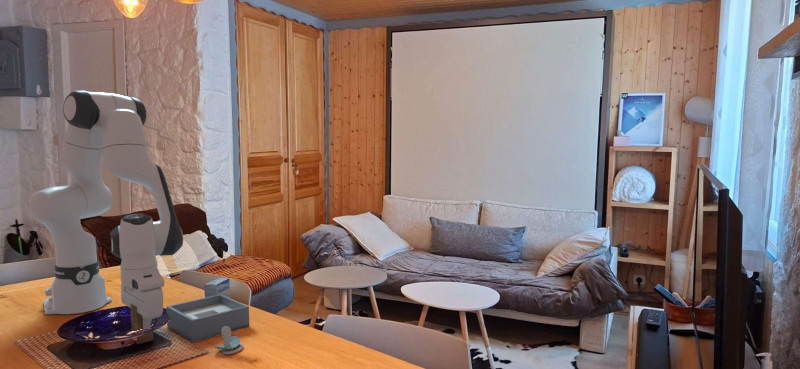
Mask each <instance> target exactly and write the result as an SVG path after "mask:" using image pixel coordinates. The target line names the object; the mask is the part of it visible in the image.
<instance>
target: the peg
mask: <svg viewBox="0 0 800 369" xmlns="http://www.w3.org/2000/svg"><path fill="white" fill-rule="evenodd" d="M130 307H131V308H130V324H131V325H130V326H131V332H132V331H137V330H140V329H142V323H143V318H142V315H140V314H139V313H137V307H136V306H134V305H133V304H130ZM151 326H154V324H153V320H152V321H151ZM151 341H154V330H153V331H151V332H149V333H147V334H145V335H143V336H140V337H139V338H137V340H136V344H137V345H139V344H144V343H147V342H151Z"/></svg>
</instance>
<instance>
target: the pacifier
mask: <svg viewBox="0 0 800 369" xmlns="http://www.w3.org/2000/svg"><path fill="white" fill-rule="evenodd" d="M231 335H232V332H231V329H230V328H229V327H228V326H224V327H223V328H222V330H221V335H220V336H222V338H223V344H222V345H214V346H213V348H215V349H218V350H221V354H223V355H233V354H236V353H238V352H240V351H241V350H243V349H244V344H242V343H241V338H240V337H239V336H236V335H233V336H231ZM235 348H236V349H235Z"/></svg>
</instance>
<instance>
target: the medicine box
mask: <svg viewBox="0 0 800 369" xmlns="http://www.w3.org/2000/svg"><path fill="white" fill-rule="evenodd" d="M203 287H204V291H203V292H204V298H206V297H210V296H215V295H219V294H222V295H224V296H226V297H229V298H231V287H230V278H227V277H218V278H215V279H213V280H211V281H210V282H207V283H205V284H204V286H203Z"/></svg>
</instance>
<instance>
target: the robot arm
mask: <svg viewBox="0 0 800 369" xmlns="http://www.w3.org/2000/svg"><path fill="white" fill-rule="evenodd" d="M62 109H63V110H62V111H63V117H64V118H65V120H66V121H67V123H68V125H67V128H66V130H65V134H64V139H63V144H62V150H61V154H60V160H59V164H60V166H61V168H62V169H63V170H64V171H65V173H66V172H67V173H68V174H70V183H69V184H68V185H67V184H65V185H58V186H57V185H56V186H51V187H47V188H44V189H40V190H39V191H36V192H34V193H33V194H32V195H31V197H30V199H29V202H28V211H29V213H30V216H32V218H33V219H34V220H35V221H36V222H38V223H40V224H41V225H43V227H45V228H46V229H47V230H48V232H49V234H50V236H51V238H52V241H53V245H54V246H53V247H54V254H55V265H54V269H53V270H54V271H53V273H54V277H55V278H54V279H53V281H52V282H51V285H50V288H49V287H48V288H45V290H44V295H45V297H48V298H46V299H43V309H44V311H45V312H44V315H75V314H83V313H86V312H87V313H88V312H92V311H95V310H97V309H101V308H103V307H104V306H105V305H107V304H108V303H111V302H112V301H113V300H112V297H109V296H107V288H106V281H105V277H104V276H102V275H101V274H100V273H99V272H100V263H99V261H98V256H97V240H96V237H95V236H94V235H93V234H92V233H90V232H87V231H86V230H84V228H83V226H82V224H81V223H82V222H81V219H87V218H94V217H98V216H99V215H102V214H104V213H106V212H108V211H110V209H111V208H112V206H113V203H114V196H113V193H112V191H111V189H110V188H109V187H108V186H107V185H106V184H105V182H104V180H103V175H102V171H103V170H102V168H103V162H105V167H106V169H107V170H108V171H109V172H110V174H112V175H113V176H115V177H116V178H118V179H119V180H123V181H126V182H130V183H131V184H132V183H133V184H136V185H140V186H142V187H145V188H146V189H148V191H150V192H151V193H152V196H153V198H154V201H155V206H156V210H157V212H158V217H159V220H157V221H154V220H153V218H152V216H150V215H147V214H143V213H133V214H132V213H131V214H128V215H125V216H124V217H122V218H121V219H120V225H117V226H116V227H114V228H113V229H112V230H111V231H110V233H109V235H110V241H111V242H110V243H111V246H110V254H112V255H114V256H115V257H117V258H118V259H121V262H120V283H121V284H120V298H121V302H122V304H124V305H125V306H126V307H128V308H130V309H131V307H130V304H133V305H134V306H136V307H137V313H139V314H140V315H142V318H143V323H142V329H143V330H145V329H151V321H152V322H153V320H154V319H157V318H161V317H162V315H163V313H164V292H163V288H162V287H165V279H164V276H162V275H161V273H160V270H159V269H158V260H157V258H156V256H159V257H160V256H166V257H167V256H174V255H175V254H176V253H177V252H178V251H179V250H180V249H181V248H182V247H183V244H184V234H183V230H182V228H181V225H180V223H179V220H178V216H177V214H176V211H175V207H174V203H173V200H172V196H171V193H170V189H169V187H168V183H167V179H166V177H165V174H164V172H163V170H162V168H161V166H160V165H157V164H155V163H154V162H153V160H152V159H151V157H150V154H149V153H148V146H147V139H146V138H147V137H146V133H145V129H144V125H145V123H146V120H147V109H146V107H145V104H144V103H143V101H142V100H140V99H138V98H136V97H133V96H124V95H121V94H117V93H113V92H100V91H99V92H98V91H97V92H96V91H95V92H94V91H87V90H75V91H71V92H70V93H69V94H68V95H67V96H66V97H65V99H64V101H63V108H62ZM49 296H51V297H49Z"/></svg>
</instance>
